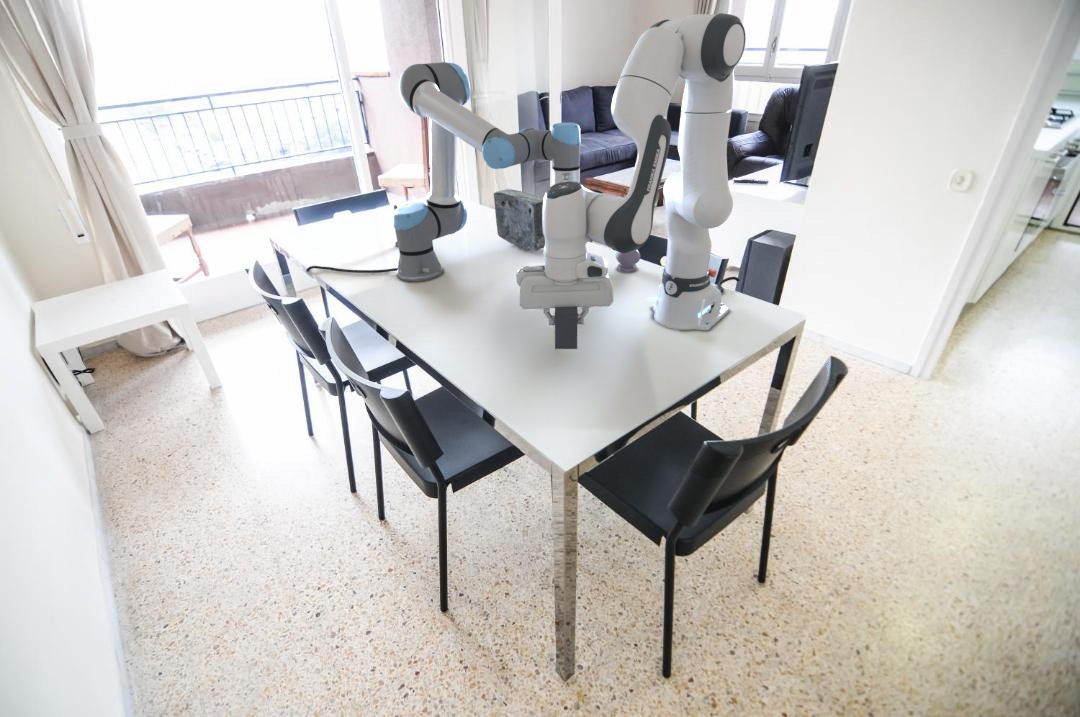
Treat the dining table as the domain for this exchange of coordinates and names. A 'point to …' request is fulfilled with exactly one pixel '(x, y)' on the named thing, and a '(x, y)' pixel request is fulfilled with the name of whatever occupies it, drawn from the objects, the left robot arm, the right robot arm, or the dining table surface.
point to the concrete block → (520, 218)
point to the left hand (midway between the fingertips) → (565, 264)
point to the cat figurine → (627, 261)
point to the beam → (566, 327)
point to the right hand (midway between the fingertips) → (566, 323)
